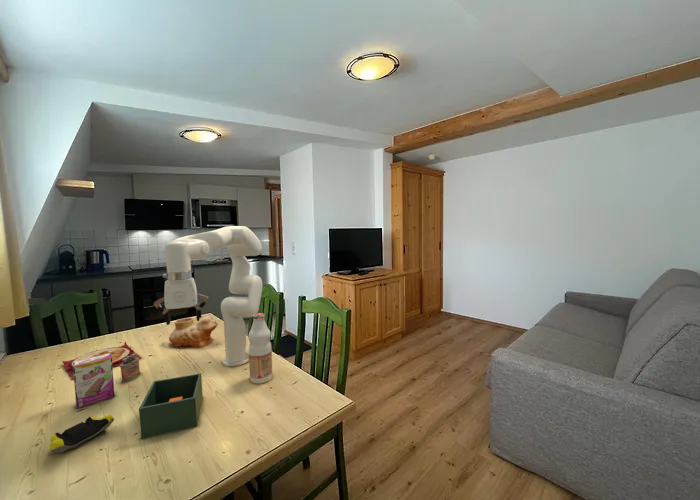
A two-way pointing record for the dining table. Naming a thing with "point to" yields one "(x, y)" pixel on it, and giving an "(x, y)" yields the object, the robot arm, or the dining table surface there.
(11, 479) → the dining table surface
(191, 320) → the ceramic vessel
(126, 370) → the red metal can
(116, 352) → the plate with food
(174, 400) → the orange rectangular block
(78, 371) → the candy bar box
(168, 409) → the trash bin
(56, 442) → the black and yellow piece
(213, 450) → the dining table surface
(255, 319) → the fruit juice
